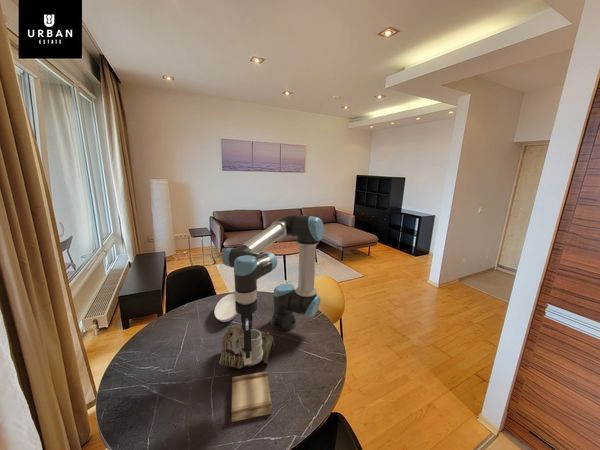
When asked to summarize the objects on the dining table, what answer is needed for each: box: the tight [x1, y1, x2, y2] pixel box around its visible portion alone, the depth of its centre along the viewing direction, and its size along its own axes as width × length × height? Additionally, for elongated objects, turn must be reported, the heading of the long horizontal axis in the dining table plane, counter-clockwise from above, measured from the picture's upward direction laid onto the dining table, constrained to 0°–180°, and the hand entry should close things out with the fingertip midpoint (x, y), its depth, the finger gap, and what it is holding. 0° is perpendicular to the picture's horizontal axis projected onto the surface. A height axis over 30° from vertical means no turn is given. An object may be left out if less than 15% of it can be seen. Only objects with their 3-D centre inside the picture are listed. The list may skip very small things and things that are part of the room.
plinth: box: [231, 370, 273, 423], centre depth 94 cm, size 14×16×4 cm
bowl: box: [213, 293, 238, 323], centre depth 150 cm, size 30×15×6 cm, turn 3°
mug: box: [232, 327, 263, 366], centre depth 91 cm, size 8×12×12 cm, turn 83°
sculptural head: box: [218, 324, 275, 369], centre depth 113 cm, size 17×21×25 cm
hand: (247, 355), depth 91 cm, fingers closed on mug, 8 cm apart
